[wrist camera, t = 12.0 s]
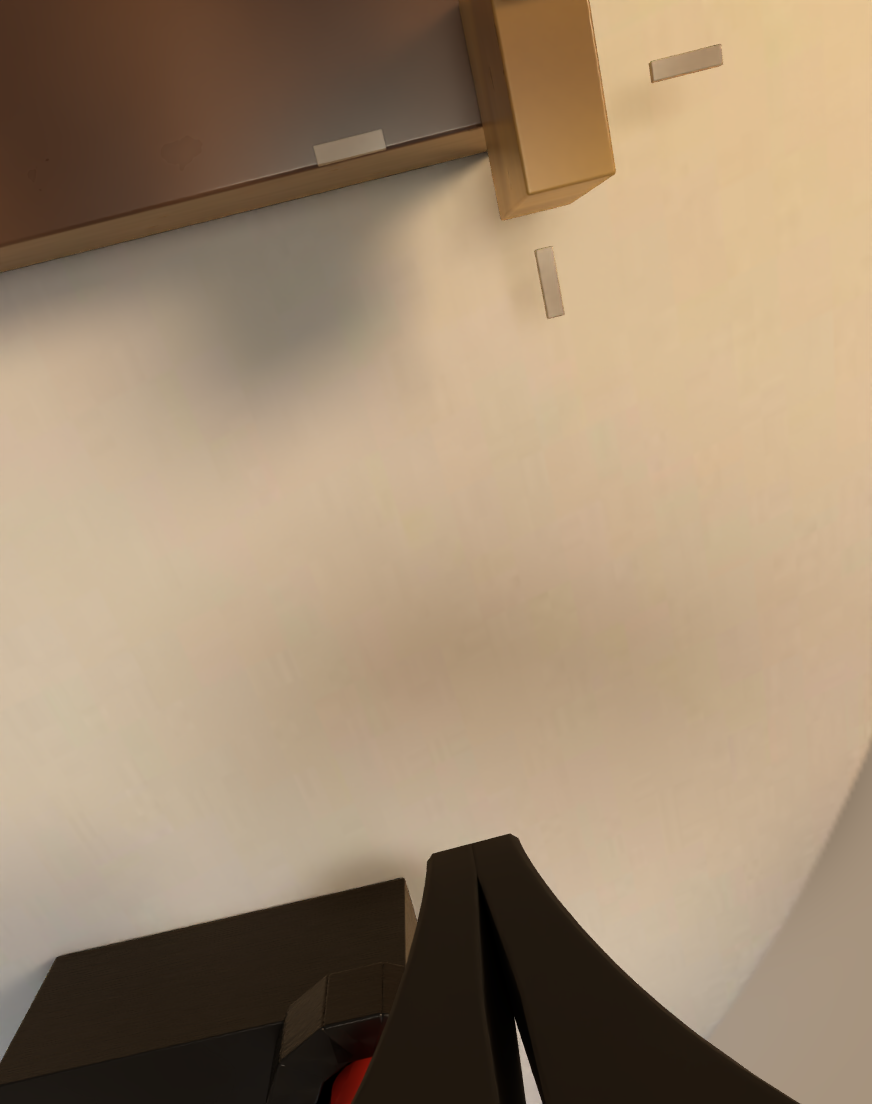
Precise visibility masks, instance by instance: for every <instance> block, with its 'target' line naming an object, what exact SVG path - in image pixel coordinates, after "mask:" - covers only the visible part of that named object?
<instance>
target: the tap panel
mask: <svg viewBox="0 0 872 1104" xmlns="http://www.w3.org/2000/svg"><path fill="white" fill-rule="evenodd" d="M722 64H723V58H722V49H721V44H718V45H714V46H710V47H706V48H702V49H698V50H694V51H690V52H686V53H682V54H678V55H674V56H670V57H666V58H662V59H658V60H654V61H651V62H650V63H649V69H650V76H651V83H655V82H659V81H663V80H667V79H671V78H675V77H679V76H683V75H687V74H691V73H695V72H699V71H703V70H707V69H711V68H715V67H719V66H721V65H722ZM486 151H487V147H486V142H485V136H484V131H483V126H482V121H481V116H480V111H479V106H478V101H477V96H476V91H475V86H474V80H473V75H472V70H471V65H470V60H469V55H468V50H467V45H466V40H465V35H464V30H463V25H462V19H461V14H460V9H459V0H0V273H1V272H5V271H9V270H13V269H17V268H21V267H25V266H29V265H33V264H37V263H41V262H45V261H49V260H53V259H57V258H61V257H65V256H69V255H73V254H77V253H81V252H85V251H89V250H93V249H97V248H101V247H105V246H109V245H113V244H117V243H121V242H125V241H129V240H133V239H137V238H141V237H145V236H149V235H153V234H157V233H161V232H165V231H169V230H173V229H177V228H181V227H185V226H189V225H193V224H197V223H201V222H205V221H209V220H213V219H217V218H221V217H225V216H229V215H233V214H237V213H241V212H245V211H249V210H253V209H257V208H261V207H265V206H269V205H273V204H278V203H282V202H286V201H290V200H294V199H298V198H302V197H306V196H310V195H314V194H318V193H322V192H326V191H330V190H334V189H338V188H342V187H346V186H350V185H354V184H358V183H362V182H366V181H370V180H374V179H378V178H382V177H386V176H390V175H394V174H398V173H402V172H406V171H410V170H414V169H418V168H422V167H426V166H430V165H434V164H438V163H442V162H446V161H450V160H454V159H458V158H462V157H466V156H470V155H474V154H478V153H482V152H486ZM534 252H535V257H536V262H537V268H538V273H539V278H540V284H541V289H542V294H543V300H544V305H545V310H546V316H547V319H550V318H554V317H558V316H562V315H564V314H565V313H564V308H563V302H562V297H561V291H560V286H559V280H558V275H557V269H556V264H555V258H554V253H553V247H552V246H549V247H545V248H541V249H537V250H535V251H534Z"/></svg>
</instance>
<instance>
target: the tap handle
mask: <svg viewBox="0 0 872 1104" xmlns="http://www.w3.org/2000/svg"><path fill="white" fill-rule="evenodd" d="M459 9H460V14H461V19H462V25H463V30H464V35H465V40H466V45H467V50H468V55H469V60H470V65H471V70H472V75H473V80H474V86H475V91H476V96H477V101H478V106H479V111H480V116H481V121H482V126H483V131H484V136H485V142H486V147H487V152H488V157H489V162H490V167H491V172H492V177H493V182H494V187H495V192H496V197H497V203H498V208H499V213H500V218H501V220H508V219H512V218H516V217H520V216H524V215H528V214H532V213H536V212H540V211H544V210H548V209H553V208H557V207H561V206H565V205H569V204H571V203H573V202H574V201H576V200H577V199H578V198H580V197H581V196H583V195H584V194H586V193H587V192H589V191H590V190H592V189H593V188H595V187H596V186H598V185H599V184H601V183H602V182H604V181H605V180H607V179H608V178H610V177H611V176H613V175H614V174H615V172H616V169H615V163H614V156H613V150H612V144H611V137H610V131H609V124H608V118H607V111H606V105H605V99H604V92H603V86H602V79H601V73H600V66H599V60H598V54H597V47H596V41H595V34H594V28H593V21H592V15H591V8H590V2H589V0H459Z"/></svg>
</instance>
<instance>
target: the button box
mask: <svg viewBox="0 0 872 1104" xmlns="http://www.w3.org/2000/svg"><path fill="white" fill-rule="evenodd" d="M416 926H417V919H416V915H415V912H414V908H413V905H412V902H411V898H410V895H409V891H408V888H407V885H406V881H405V879H404V878H400V879H395V880H391V881H387V882H382V883H378V884H374V885H369V886H365V887H361V888H356V889H352V890H348V891H343V892H339V893H335V894H330V895H326V896H322V897H317V898H313V899H309V900H304V901H300V902H295V903H291V904H287V905H282V906H278V907H274V908H269V909H265V910H261V911H256V912H252V913H248V914H243V915H239V916H235V917H230V918H226V919H222V920H217V921H213V922H209V923H204V924H200V925H196V926H191V927H187V928H182V929H178V930H174V931H169V932H165V933H161V934H156V935H152V936H148V937H143V938H139V939H135V940H130V941H126V942H122V943H117V944H113V945H109V946H104V947H100V948H96V949H91V950H87V951H83V952H78V953H74V954H69V955H65V956H61V957H57V958H56V959H55V961H54V963H53V965H52V967H51V969H50V971H49V973H48V974H47V976H46V978H45V980H44V982H43V984H42V986H41V987H40V989H39V991H38V993H37V995H36V997H35V999H34V1001H33V1002H32V1004H31V1006H30V1008H29V1010H28V1012H27V1014H26V1016H25V1017H24V1019H23V1021H22V1023H21V1025H20V1027H19V1029H18V1031H17V1032H16V1034H15V1036H14V1038H13V1040H12V1042H11V1044H10V1045H9V1047H8V1049H7V1051H6V1053H5V1055H4V1057H3V1059H2V1060H1V1062H0V1104H330V1100H331V1090H332V1086H333V1083H334V1081H335V1079H336V1077H337V1076H338V1074H339V1073H340V1072H341V1071H342V1070H343V1069H344V1068H345V1067H346V1066H347V1065H349V1064H350V1063H352V1062H354V1061H357V1060H362V1059H366V1058H371V1057H373V1054H374V1052H375V1050H376V1047H377V1045H378V1042H379V1040H380V1037H381V1035H382V1032H383V1030H384V1027H385V1024H386V1022H387V1019H388V1017H389V1014H390V1011H391V1008H392V1005H393V1002H394V999H395V996H396V993H397V990H398V987H399V984H400V981H401V978H402V975H403V972H404V969H405V966H406V963H407V959H408V955H409V952H410V948H411V944H412V940H413V937H414V933H415V929H416Z"/></svg>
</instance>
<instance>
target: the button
mask: <svg viewBox="0 0 872 1104" xmlns="http://www.w3.org/2000/svg"><path fill="white" fill-rule="evenodd" d="M371 1059H372V1057H371V1058H366V1059H362V1060H357V1061H354V1062H352V1063H350V1064H349V1065H347V1066H346V1067H345V1068H344V1069H343V1070H342V1071H341V1072H340V1073H339V1074H338V1076H337V1077H336V1079H335V1081H334V1083H333V1086H332V1090H331V1100H330V1104H351V1102H352V1100H353V1098H354V1096H355V1094H356V1092H357V1090H358V1088H359V1086H360V1084H361V1082H362V1079H363V1077H364V1075H365V1073H366V1070H367V1068H368V1066H369V1063H370V1061H371Z"/></svg>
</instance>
